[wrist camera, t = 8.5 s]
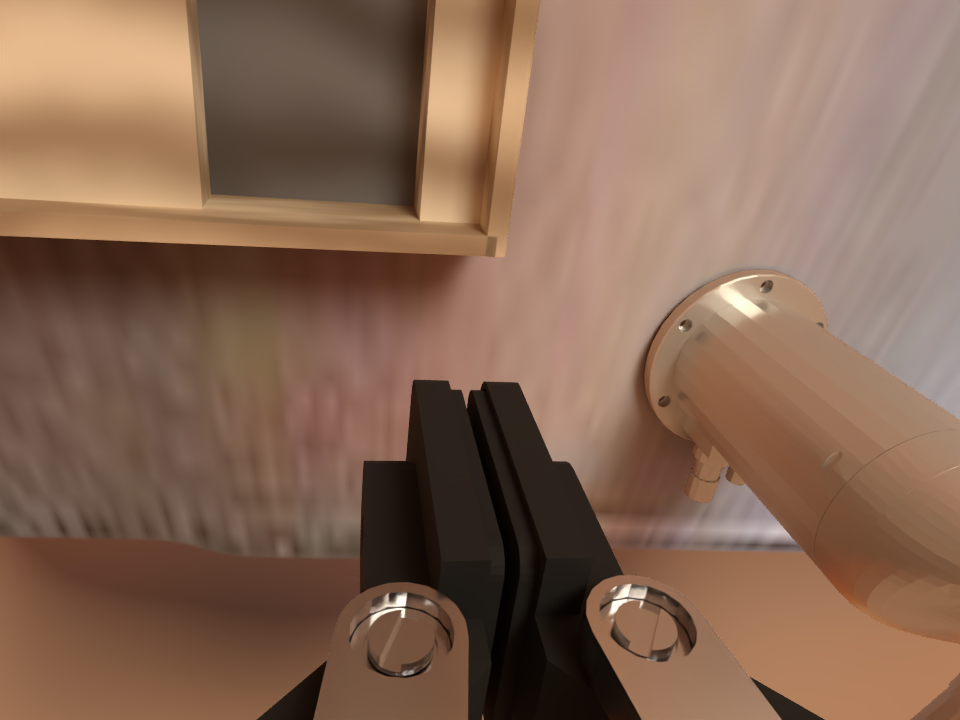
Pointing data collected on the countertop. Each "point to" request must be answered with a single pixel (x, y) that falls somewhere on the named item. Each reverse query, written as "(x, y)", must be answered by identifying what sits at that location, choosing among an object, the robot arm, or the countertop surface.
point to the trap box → (265, 121)
